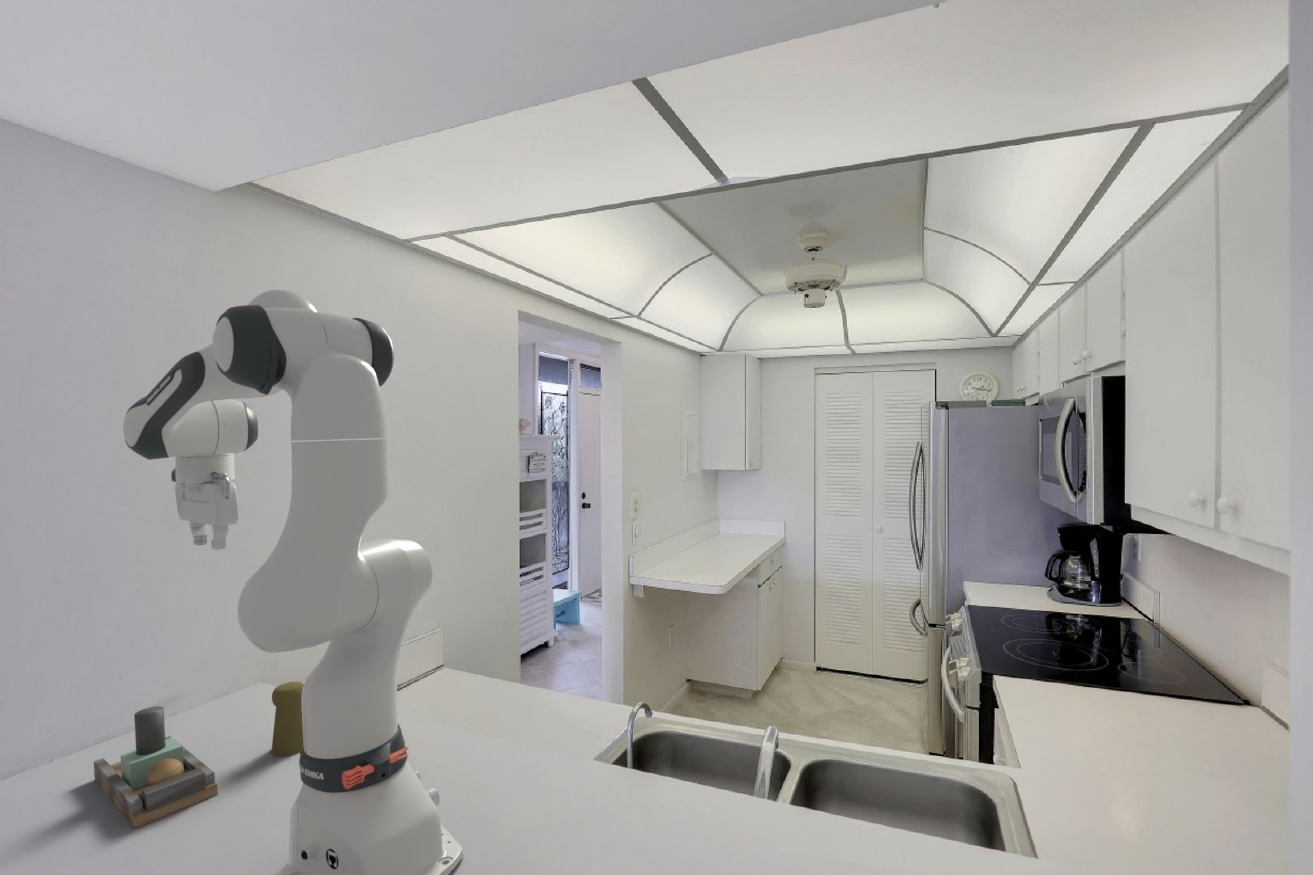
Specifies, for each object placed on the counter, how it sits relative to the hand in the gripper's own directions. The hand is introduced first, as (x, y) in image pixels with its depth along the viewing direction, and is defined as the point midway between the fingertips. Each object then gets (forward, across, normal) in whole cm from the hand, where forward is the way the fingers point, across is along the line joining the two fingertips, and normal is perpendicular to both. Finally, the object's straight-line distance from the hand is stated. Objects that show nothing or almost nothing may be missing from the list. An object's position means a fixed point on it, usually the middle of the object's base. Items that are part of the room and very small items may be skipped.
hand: (209, 546), depth 117 cm
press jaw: (+33, -14, +13) cm, 38 cm away
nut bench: (+34, -14, +13) cm, 39 cm away
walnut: (+30, -20, +13) cm, 39 cm away
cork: (+34, -19, -5) cm, 40 cm away
